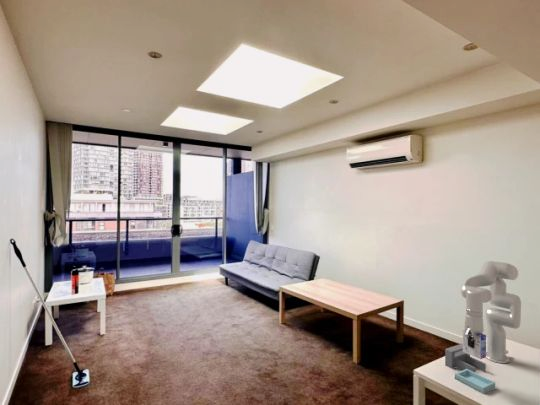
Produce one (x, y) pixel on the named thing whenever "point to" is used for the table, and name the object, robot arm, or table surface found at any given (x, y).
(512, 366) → the table surface
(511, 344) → the table surface
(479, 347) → the ink cartridge box
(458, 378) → the tray
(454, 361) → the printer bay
